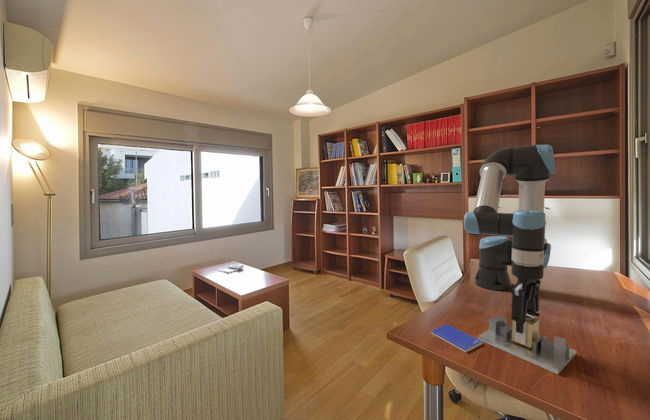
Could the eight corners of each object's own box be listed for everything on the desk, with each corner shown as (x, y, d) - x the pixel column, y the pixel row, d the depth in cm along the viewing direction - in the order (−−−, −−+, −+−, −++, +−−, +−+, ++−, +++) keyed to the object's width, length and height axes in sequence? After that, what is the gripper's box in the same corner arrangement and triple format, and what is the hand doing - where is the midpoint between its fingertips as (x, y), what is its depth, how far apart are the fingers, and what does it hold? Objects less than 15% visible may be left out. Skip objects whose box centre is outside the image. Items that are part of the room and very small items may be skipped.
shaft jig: (477, 339, 87) (477, 323, 86) (498, 325, 95) (499, 311, 94) (559, 375, 70) (560, 355, 69) (577, 355, 78) (577, 337, 77)
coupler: (531, 348, 79) (532, 322, 78) (511, 340, 83) (512, 316, 82) (538, 342, 81) (539, 317, 81) (519, 335, 85) (519, 311, 85)
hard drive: (482, 340, 84) (447, 323, 95) (465, 349, 80) (431, 330, 91) (482, 345, 84) (447, 328, 95) (465, 354, 80) (431, 334, 91)
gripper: (529, 272, 72) (526, 356, 74) (554, 260, 82) (551, 334, 84) (498, 266, 78) (496, 343, 80) (525, 255, 88) (523, 324, 90)
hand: (524, 338), depth 82 cm, fingers open, 5 cm apart
